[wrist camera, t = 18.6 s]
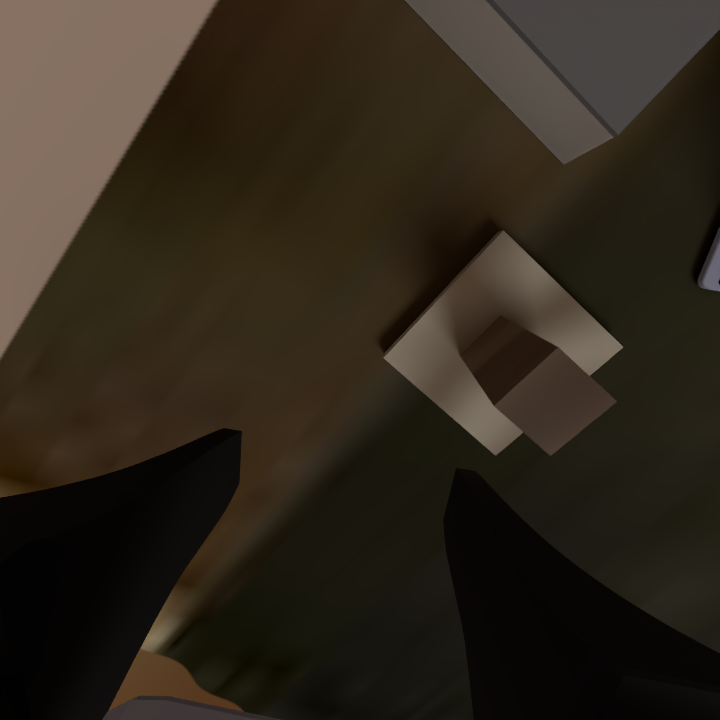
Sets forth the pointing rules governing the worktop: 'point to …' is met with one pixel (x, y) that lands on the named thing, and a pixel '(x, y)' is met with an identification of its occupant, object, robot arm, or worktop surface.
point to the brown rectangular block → (535, 384)
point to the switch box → (573, 58)
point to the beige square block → (474, 315)
